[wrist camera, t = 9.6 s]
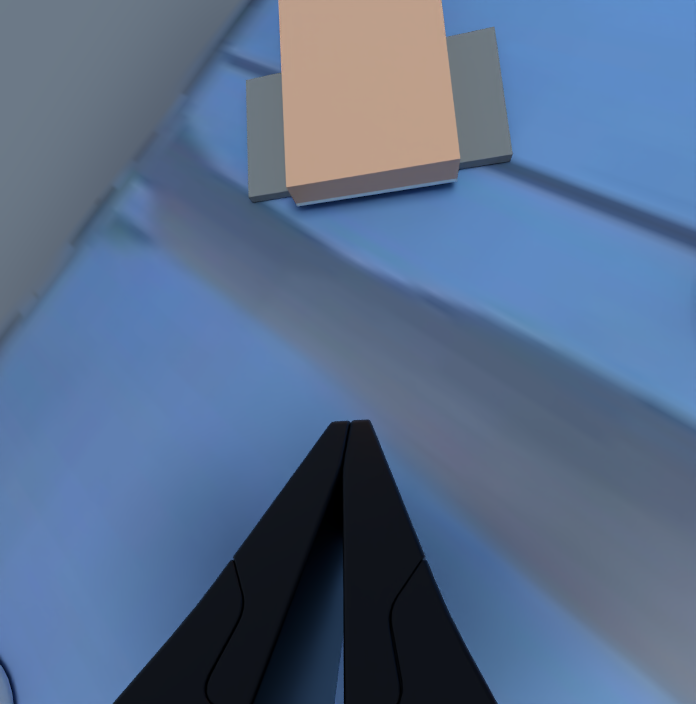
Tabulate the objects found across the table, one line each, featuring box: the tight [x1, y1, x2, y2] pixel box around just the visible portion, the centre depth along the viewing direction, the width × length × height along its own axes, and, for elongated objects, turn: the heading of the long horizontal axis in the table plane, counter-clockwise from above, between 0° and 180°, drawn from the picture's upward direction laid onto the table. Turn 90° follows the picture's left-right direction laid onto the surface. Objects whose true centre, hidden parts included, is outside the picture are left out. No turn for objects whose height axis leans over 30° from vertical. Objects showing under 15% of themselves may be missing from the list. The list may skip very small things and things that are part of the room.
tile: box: [279, 0, 460, 206], centre depth 23 cm, size 2×9×14 cm
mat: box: [246, 27, 512, 202], centre depth 23 cm, size 8×15×1 cm, turn 93°
